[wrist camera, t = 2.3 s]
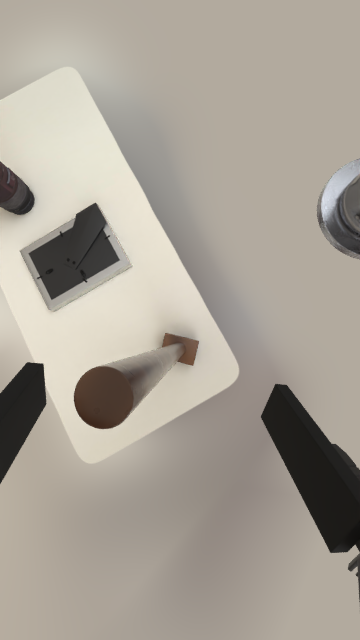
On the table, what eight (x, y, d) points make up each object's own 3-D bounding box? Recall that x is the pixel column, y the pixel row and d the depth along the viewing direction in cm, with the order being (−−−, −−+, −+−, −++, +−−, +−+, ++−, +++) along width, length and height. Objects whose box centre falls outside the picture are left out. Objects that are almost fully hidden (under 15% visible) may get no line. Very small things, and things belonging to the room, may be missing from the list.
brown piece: (199, 340, 49) (198, 359, 9) (193, 363, 49) (168, 482, 9) (167, 333, 50) (43, 320, 10) (162, 355, 50) (11, 433, 10)
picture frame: (101, 209, 53) (26, 254, 54) (95, 202, 50) (16, 249, 51) (132, 266, 52) (54, 311, 52) (128, 262, 49) (46, 309, 49)
